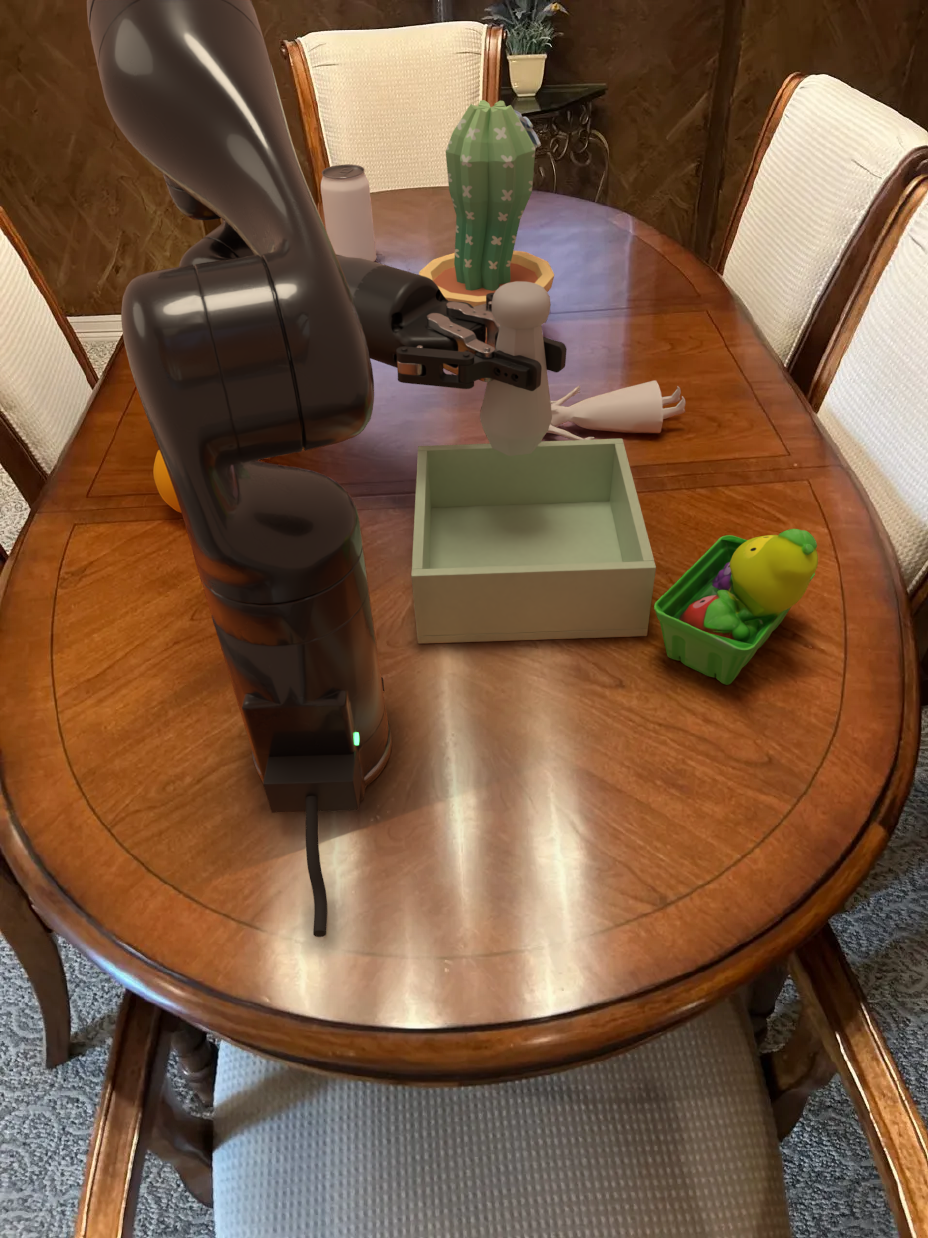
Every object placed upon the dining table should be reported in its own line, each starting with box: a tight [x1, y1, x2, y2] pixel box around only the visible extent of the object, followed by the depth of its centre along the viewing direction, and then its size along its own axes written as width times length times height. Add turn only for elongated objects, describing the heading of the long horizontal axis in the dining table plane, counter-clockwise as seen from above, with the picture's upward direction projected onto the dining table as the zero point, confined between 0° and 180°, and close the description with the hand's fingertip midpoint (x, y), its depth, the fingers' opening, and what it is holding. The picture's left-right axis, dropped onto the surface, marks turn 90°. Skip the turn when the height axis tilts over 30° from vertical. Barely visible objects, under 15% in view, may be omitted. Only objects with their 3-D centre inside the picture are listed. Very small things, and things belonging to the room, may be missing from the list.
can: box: [320, 163, 377, 262], centre depth 124 cm, size 6×6×12 cm
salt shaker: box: [479, 281, 552, 456], centre depth 71 cm, size 6×6×13 cm
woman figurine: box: [546, 379, 686, 440], centre depth 92 cm, size 12×4×18 cm
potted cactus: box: [418, 99, 555, 344], centre depth 100 cm, size 15×15×25 cm
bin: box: [410, 438, 657, 644], centre depth 74 cm, size 18×18×7 cm
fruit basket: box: [653, 528, 819, 686], centre depth 65 cm, size 11×9×11 cm
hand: (550, 367), depth 69 cm, fingers closed on salt shaker, 3 cm apart
